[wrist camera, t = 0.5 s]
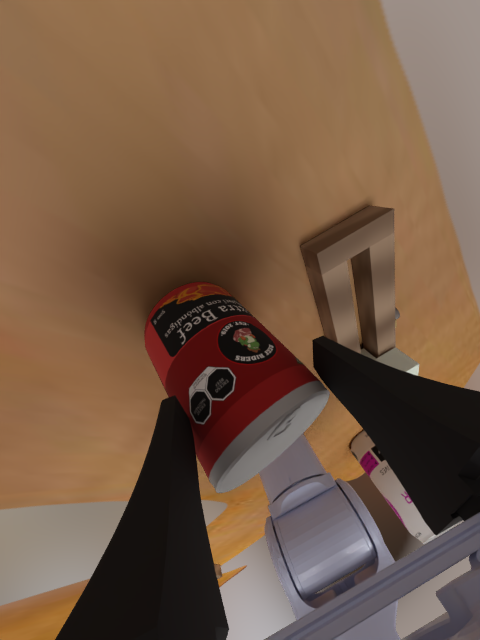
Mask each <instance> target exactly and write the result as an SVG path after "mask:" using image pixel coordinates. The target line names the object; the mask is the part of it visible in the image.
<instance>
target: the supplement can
mask: <svg viewBox="0 0 480 640" xmlns="http://www.w3.org/2000/svg"><path fill="white" fill-rule="evenodd" d="M351 447H352V448H351V452H352V454H353V455H354V456H355V458H356V459H357V461H358V462H359V463H360V465H361V466H362V467H363V469H364V470H365V472H366V473H367V474H368V476H369V477H370V479H371V480H372V481H373V483H374V484H375V485H376V487H377V488H378V489H379V491H380V492H381V494H382V495H383V496H384V498H385V499H386V500H387V502H388V503H389V505H390V506H391V507H392V509H393V510H394V511H395V513H396V514H397V516H398V517H399V519H400V520H401V521H402V523H403V524H404V525H405V527H406V528H407V529H408V531H409V532H410V533H411V534H412V535H413V536H415V537H416V538H418V539H419V540H420V541H421V542H422V543H423V544H425V543H427V542H429V541H431V540H433V539H435V538H436V537H438V536H440V535H441V534H443V533H445V532H446V531H448V530H449V529H451V528H452V527H454V526H455V525H456V524H455V525H453V526H452V527H450V528H448V529H447V530H445V531H443V532H442V533H440V534H438V535H435V534H434V533H433V532H432V531H431V529H430V528H429V527H428V525H427V524H426V523H425V522H424V520H423V518H422V517H421V515H420V513H419V512H418V510H417V508H416V507H415V505H414V503H413V502H412V500H411V499H410V497H409V495H408V494H407V492H406V491H405V489H404V487H403V486H402V484H401V483H400V481H399V480H398V478H397V477H396V475H395V474H394V472H393V471H392V469H391V468H390V466H389V465H388V463H387V462H386V460H385V459H384V457H383V456H382V454H381V453H380V452H379V450H378V449H377V447H376V446H375V444H374V443H373V442H372V440H371V439H370V437H369V436H368V435H367V433H366V432H365V431H362V432H361V433H360V434H358V435H357V436H356V437H355V438H354V440H353V441H352V443H351ZM457 524H458V523H457Z"/></svg>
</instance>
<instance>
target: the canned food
mask: <svg viewBox="0 0 480 640" xmlns="http://www.w3.org/2000/svg"><path fill="white" fill-rule="evenodd" d="M144 333H145V347H146V350H147V352H148V355H149V357H150V359H151V361H152V363H153V365H154V367H155V369H156V371H157V373H158V376H159V378H160V380H161V382H162V384H163V386H164V388H165V390H166V392H167V394H168V397H172V396H174V395H175V396H176V397H177V399H178V401H179V402H180V404H181V406H182V407H183V409H184V411H185V412H186V414H187V416H188V417H189V420H190V423H191V428H192V432H193V437H194V443H195V452H196V455H197V457H198V459H199V461H200V463H201V465H202V467H203V469H204V471H205V473H206V475H207V477H208V479H209V481H210V483H211V484H212V485H213V486H214V488H215V490H216V492H217V493H223V492H228V491H230V490H233V489H235V488H236V487H238V486H240V485H242V484H243V483H245V482H246V481H248V480H249V479H251V478H252V477H253V476H255V475H256V474H258V473H259V472H260V471H261V470H263V469H264V468H265V467H267V466H268V465H269V464H270V463H271V462H273V461H274V460H275V459H276V458H277V457H278V456H280V455H281V454H282V453H283V452H284V451H285V450H286V449H287V448H288V447H289V446H291V445H292V444H293V443H294V442H295V441H296V440H297V439H298V438H299V437H300V436H301V435H302V434H303V433H304V431H305V430H306V429H307V428H308V427H309V426H310V425H311V424H312V423H313V421H314V420H315V419H316V418H317V417H318V415H319V414H320V413H321V411H322V410H323V408H324V407H325V405H326V403H327V401H328V398H329V391H328V390H327V389H326V388H325V387H324V385H323V384H322V383H321V382H320V380H318V379H317V378H316V377H315V376H314V375H313V374H312V373H311V372H310V371H309V370H308V369H307V367H306V366H305V365H304V364H303V363H301V362H300V361H299V360H298V359H297V358H296V357H295V356H294V355H293V354H292V353H291V352H290V351H289V350H288V349H287V348H286V347H285V346H284V345H283V344H282V343H281V342H280V341H279V340H277V339H276V338H275V337H274V336H273V335H272V334H271V333H270V332H269V331H268V330H267V329H266V328H265V327H264V326H263V325H262V324H261V323H260V322H259V321H258V320H257V319H256V318H255V317H253V316H252V315H251V314H250V313H249V312H248V311H247V310H246V309H245V308H244V307H243V306H242V305H241V304H240V303H239V302H238V301H237V300H236V299H235V298H234V297H233V296H232V295H231V294H230V293H228V292H227V291H226V290H225V289H223V288H221V287H220V286H217V285H214V284H211V283H207V282H194V283H189V284H186V285H183V286H180V287H178V288H176V289H175V290H173V291H171V292H169V293H168V294H167V295H166V296H164V297H163V298H162V299H161V300H160V301H159V302H158V303H157V304H156V305H155V307H154V308H153V310H152V311H151V313H150V314H149V317H148V319H147V322H146V325H145V332H144Z"/></svg>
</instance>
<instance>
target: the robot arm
mask: <svg viewBox="0 0 480 640" xmlns="http://www.w3.org/2000/svg"><path fill="white" fill-rule="evenodd" d="M313 364H314V368H315V370H316V372H317V373H318V375H319V376H320V378H321V379H322V380H323V382H324V383H325V384H326V386H327V387H328V388H329V389H330V390H331V391H332V393H333V394H334V395H335V396H336V397H337V398H338V400H339V401H340V402H341V403H342V404H343V405H344V406H345V407H346V409H347V410H348V411H349V412H350V413H351V414H352V415H353V417H354V418H355V419H356V420H357V421H358V423H359V424H360V425H361V426H362V428H363V429H364V431H365V432H366V433H367V435H368V436H369V437H370V439H371V440H372V442H373V443H374V444H375V446H376V447H377V449H378V450H379V452H380V453H381V454H382V456H383V457H384V459H385V460H386V462H387V463H388V465H389V466H390V468H391V469H392V471H393V472H394V474H395V475H396V477H397V478H398V480H399V481H400V483H401V484H402V486H403V487H404V489H405V491H406V492H407V494H408V495H409V497H410V499H411V500H412V502H413V503H414V505H415V507H416V508H417V510H418V512H419V513H420V515H421V517H422V518H423V520H424V522H425V523H426V524H427V525H428V527H429V528H430V529H431V531H432V532H433V533H434V534H435V535H438V534H440V533H442V532H443V531H445V530H447V529H448V528H450V527H452V526H453V525H455V524H457V523H459V522H460V521H462V520H464V522H462V523H461V524H459V525H457V526H456V527H454V528H452V529H450V530H449V531H447V532H445V533H444V534H442V535H440V536H439V537H437V538H435V539H434V540H432V541H430V542H428V543H427V544H425V545H424V546H422V547H420V548H418V549H417V550H415V551H413V552H412V553H410V554H408V555H406V556H405V557H403V558H401V559H400V560H398V561H396V562H395V561H394V559H393V557H392V556H391V554H390V552H389V550H388V549H387V547H386V545H385V543H384V541H383V538H382V536H381V533H380V531H379V529H378V527H377V526H376V524H375V522H374V520H373V518H372V516H371V515H370V513H369V511H368V510H367V508H366V507H365V505H364V504H363V502H362V500H361V499H360V497H359V496H358V495H357V494H356V492H355V490H354V489H353V488H352V487H351V486H350V485H349V484H348V483H347V482H345V481H343V480H341V479H339V478H338V479H336V480H335V481H334V479H333V477H332V476H331V474H330V473H326V471H325V469H324V468H323V466H322V464H321V463H320V461H319V459H318V458H317V456H316V454H315V452H314V451H313V449H312V447H311V446H310V444H309V442H308V441H307V439H306V437H305V435H304V434H302V435H301V436H300V437H299V438H298V439H297V440H296V441H295V442H294V443H293V444H292V445H291V446H289V447H288V448H287V449H286V450H285V451H284V452H283V453H282V454H281V455H280V456H278V457H277V458H276V459H275V460H274V461H273V462H271V463H270V464H269V465H268V466H267V467H265V468H264V469H263V470H261V471H260V472H259V475H260V478H261V480H262V483H263V486H264V489H265V492H266V494H267V497H268V500H269V503H270V505H268V508H269V511H270V513H271V516H269V517H267V518H266V524H265V536H266V540H267V544H268V548H269V551H270V555H271V558H272V561H273V564H274V567H275V570H276V572H277V575H278V578H279V580H280V583H281V585H282V587H283V590H284V592H285V594H286V596H287V597H288V599H289V602H290V604H291V607H292V609H293V612H294V614H295V618H296V620H297V621H295V622H293V623H291V624H290V625H288V626H287V627H285V628H283V629H281V630H280V631H278V632H276V633H275V634H273V635H271V636H269V637H268V638H266V639H264V640H480V392H479V391H474V390H470V389H465V388H461V387H457V386H452V385H448V384H445V383H441V382H437V381H434V380H430V379H427V378H423V377H420V376H417V375H414V374H411V373H408V372H405V371H402V370H399V369H396V368H393V367H391V366H388V365H386V364H383V363H381V362H378V361H376V360H373V359H371V358H369V357H367V356H364V355H362V354H360V353H358V352H356V351H353V350H351V349H349V348H347V347H345V346H343V345H341V344H339V343H337V342H335V341H333V340H331V339H329V338H327V337H324V336H321V337H319V338H316V339H314V340H313ZM469 555H470V556H469ZM467 556H469V561H470V564H471V570H470V571H468V572H466V573H464V574H463V575H461V576H459V577H457V578H456V579H454V580H452V581H451V582H449V583H448V584H447V585H445V586H444V587H442V588H441V589H439V590H438V591H436V596H437V597H438V599H439V600H440V601H441V603H442V605H443V606H444V608H445V609H446V611H447V612H446V613H445V614H443V615H441V616H439V617H438V618H436V619H435V620H433V621H431V622H430V623H428V624H426V625H425V626H423V627H421V628H420V629H418V630H416V631H415V632H413V633H411V634H410V635H408V636H406V637H405V638H403V639H400V637H399V635H398V634H397V632H396V612H397V605H398V599H400V598H401V597H403V596H405V595H406V594H408V593H409V592H411V591H412V590H414V589H416V588H418V587H419V586H421V585H422V584H424V583H425V582H427V581H429V580H430V579H432V578H434V577H435V576H437V575H439V574H440V573H442V572H443V571H445V570H447V569H448V568H450V567H451V566H453V565H454V564H456V563H458V562H459V561H461V560H463V559H464V558H466V557H467ZM364 564H365V565H364ZM362 565H364V566H363V567H362V568H361V569H360V570H358V571H356V572H355V573H353V574H351V575H350V576H348V577H346V578H345V579H343V580H341V581H340V582H338V583H336V584H335V585H333V586H331V587H329V588H328V589H326V590H324V591H323V592H320V593H317V592H318V591H320V590H322V589H323V588H325V587H327V586H328V585H330V584H332V583H334V582H335V581H337V580H339V579H340V578H342V577H344V576H345V575H347V574H349V573H350V572H352V571H353V570H355V569H357V568H359V567H360V566H362ZM315 593H316V594H315ZM228 630H229V627H228V623H227V619H226V615H225V610H224V606H223V602H222V598H221V594H220V589H219V585H218V580H217V576H216V571H215V567H214V562H213V558H212V553H211V548H210V544H209V539H208V534H207V529H206V524H205V520H204V514H203V509H202V504H201V497H200V490H199V480H198V470H197V461H196V452H195V443H194V437H193V432H192V428H191V423H190V420H189V417H188V416H187V414H186V412H185V411H184V409H183V407H182V406H181V404H180V402H179V401H178V399H177V397H176V396H175V395H174V396H172V397H169V398H167V399H164V400H162V402H161V406H160V410H159V414H158V418H157V422H156V426H155V430H154V433H153V436H152V440H151V443H150V446H149V450H148V453H147V456H146V458H145V461H144V464H143V467H142V470H141V473H140V475H139V478H138V481H137V483H136V486H135V488H134V491H133V493H132V495H131V498H130V500H129V502H128V505H127V507H126V509H125V511H124V513H123V516H122V518H121V520H120V522H119V524H118V527H117V529H116V531H115V533H114V535H113V537H112V539H111V541H110V543H109V545H108V547H107V549H106V550H105V552H104V554H103V556H102V558H101V560H100V562H99V564H98V566H97V568H96V569H95V571H94V573H93V575H92V577H91V579H90V581H89V582H88V584H87V586H86V588H85V589H84V591H83V593H82V595H81V596H80V598H79V600H78V602H77V603H76V605H75V607H74V608H73V610H72V612H71V613H70V615H69V617H68V619H67V620H66V622H65V624H64V625H63V627H62V629H61V631H60V632H59V634H58V636H57V637H56V639H55V640H226V638H227V634H228Z"/></svg>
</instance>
